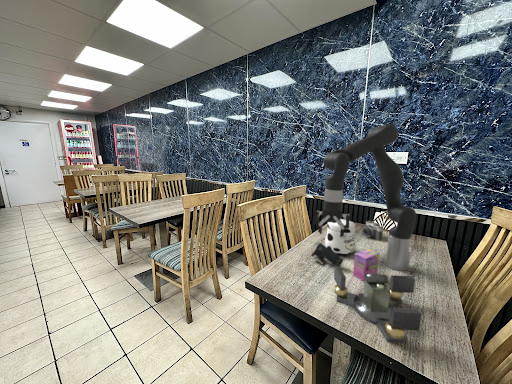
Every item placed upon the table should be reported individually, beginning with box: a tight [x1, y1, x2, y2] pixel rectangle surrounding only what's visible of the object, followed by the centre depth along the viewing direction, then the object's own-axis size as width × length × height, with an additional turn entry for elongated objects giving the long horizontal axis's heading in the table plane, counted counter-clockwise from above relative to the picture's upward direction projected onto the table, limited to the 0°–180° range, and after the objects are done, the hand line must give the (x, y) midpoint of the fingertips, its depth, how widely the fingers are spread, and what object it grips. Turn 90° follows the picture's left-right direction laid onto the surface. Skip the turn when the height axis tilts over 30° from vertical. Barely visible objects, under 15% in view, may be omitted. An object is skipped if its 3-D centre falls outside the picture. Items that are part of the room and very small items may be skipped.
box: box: [352, 248, 380, 282], centre depth 96 cm, size 10×6×12 cm, turn 118°
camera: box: [361, 220, 384, 241], centre depth 145 cm, size 16×10×10 cm, turn 5°
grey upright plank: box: [333, 265, 349, 297], centre depth 82 cm, size 9×5×8 cm, turn 176°
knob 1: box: [387, 274, 416, 300], centre depth 79 cm, size 9×5×8 cm, turn 86°
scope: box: [310, 242, 344, 267], centre depth 108 cm, size 8×14×10 cm, turn 42°
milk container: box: [324, 218, 356, 255], centre depth 122 cm, size 17×17×18 cm
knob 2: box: [385, 307, 422, 340], centre depth 62 cm, size 9×5×8 cm, turn 86°
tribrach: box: [336, 273, 406, 343], centre depth 72 cm, size 25×22×14 cm
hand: (330, 235), depth 89 cm, fingers open, 8 cm apart
